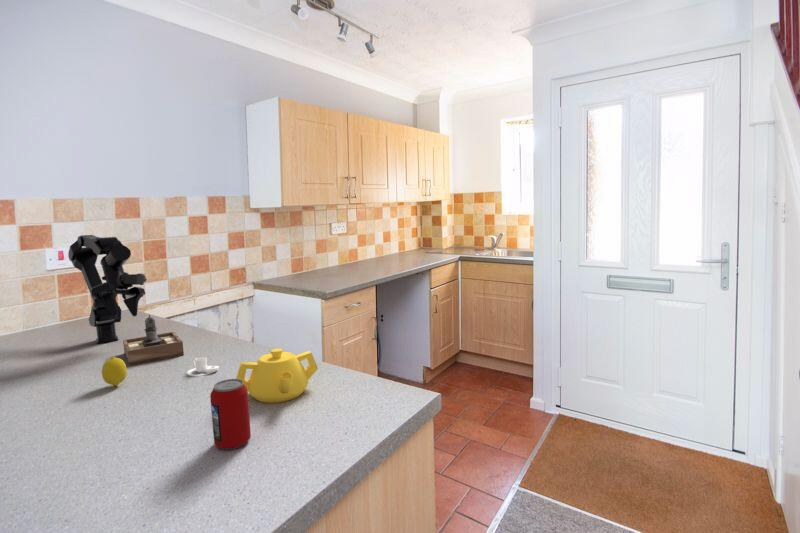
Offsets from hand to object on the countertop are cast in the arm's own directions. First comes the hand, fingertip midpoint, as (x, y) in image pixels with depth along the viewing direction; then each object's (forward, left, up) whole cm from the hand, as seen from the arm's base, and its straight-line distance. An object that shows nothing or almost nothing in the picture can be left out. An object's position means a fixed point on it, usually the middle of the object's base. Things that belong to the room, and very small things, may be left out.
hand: (126, 315), depth 149 cm
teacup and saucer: (+40, +13, -12) cm, 44 cm away
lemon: (+34, -6, -12) cm, 37 cm away
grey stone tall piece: (+10, +6, -11) cm, 16 cm away
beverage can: (+84, +10, -12) cm, 86 cm away
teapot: (+68, +26, -12) cm, 74 cm away
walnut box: (+10, +6, -12) cm, 17 cm away
